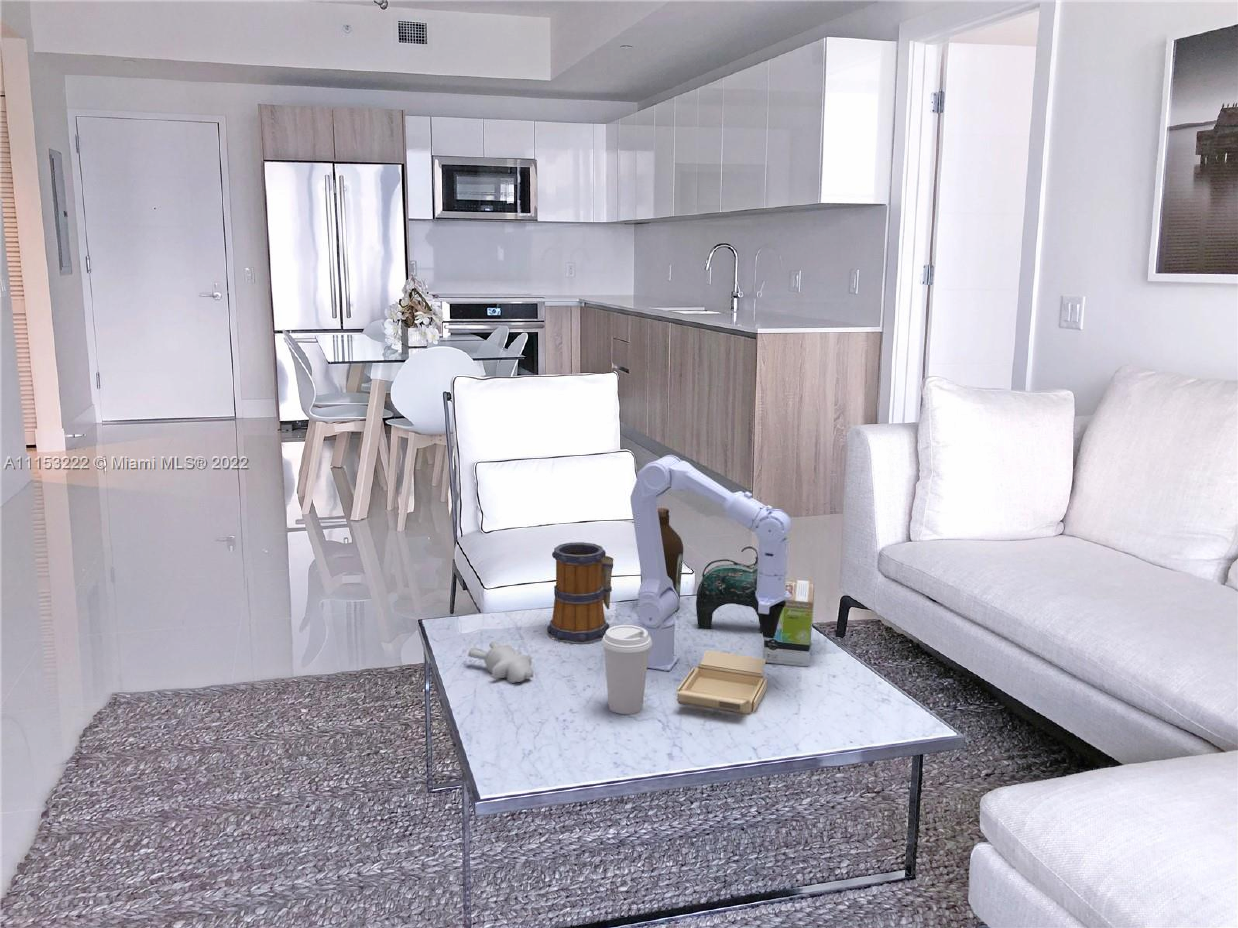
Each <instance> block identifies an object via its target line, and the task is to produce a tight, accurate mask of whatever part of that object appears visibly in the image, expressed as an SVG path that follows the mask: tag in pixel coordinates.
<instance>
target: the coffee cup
mask: <svg viewBox="0 0 1238 928" xmlns="http://www.w3.org/2000/svg"><path fill="white" fill-rule="evenodd" d="M600 642H601V643H600V644H601V645H602V646H603V650H604V653H603V654H604V663H605V674H606V675H605V679H606V688H607V689H606V690H607V691H606V692H607V702H608V703H607V705H608V709H609V710H610V711H612V712H613V713H615V714H619V715H632V714H636V713H639V712H641V711H642V710H643V705H644V696H645V689H646V688H645V687H646V677H647V670H648V668H647V662H648V654H649V648H650V647H651V646H652V641H651V638H650V636H649V635H648V632H647V630H645V629H644V628H642V627H638V626H633V625H631V624H621V625H620V624H619V625H615V626H611V627H609V629H607V631H606V633H605V635H604V636H603V638H602V641H600Z"/></svg>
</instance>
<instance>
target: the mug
mask: <svg viewBox="0 0 1238 928" xmlns="http://www.w3.org/2000/svg"><path fill="white" fill-rule="evenodd" d="M553 549H554V551H553V552H552V553H551V556H552V558H553V559H555V585H554V586H553V590H554V591H553V593H554V595H553V596H554V601H553V608H552V609H553V610H552V617H551V618H552V619H551V620H550V621H549V625H548V626H546V632H548V633H547V636H549V637H550V638H549V637H548V638H549V639H551V638H554V639H555V640H556V641H555V640H554V641H555V642H557V641H558V642H557V643H560V642H565V643H564V644H566V643H570V644H569V645H573V644H578V645H591V643H592V644H595V643H594V642H596V643H599V642H602V638H603V636H604V635H605V633H606V631H607V629H609V628H610V624H609V622H607V621H606V618H605V610H604V606H605V608H606V609H607V610H610V606H611V605H610V603H611V593H612V592H613V589H612V576H613V575H612V574H613V569H614V558H613V557H611V556H608V555H607V553H606V550H605V549H604V548H603V547H602V545H598V544H596V543H591V542H585V541H584V542H583V541H581V542H580V541H579V542H567V543H561V544H558V545H557V546H555V547H554V548H553Z"/></svg>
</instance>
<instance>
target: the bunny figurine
mask: <svg viewBox="0 0 1238 928" xmlns="http://www.w3.org/2000/svg"><path fill="white" fill-rule="evenodd" d="M489 647H490V648H491V649H489V650H488V651H485V650H483V649H481V648H475V647H473V648H470V649H469V651H468V654H467V656H468V657H470V658H474V659H479V660H483V661H484V663H485V666H486V667H485V668H486V670H487V671H488V672H489V673H491V678H493V679H502V678H503V679H506V680H507V682H508V683H510V684H514V683H519V682H520V683H521V682H523V681H525V680H528V679H531V678H534V672H535V671H534V669H533V668H532V659H533V658H532V656H531V655H527V654H519V653H517V652H516V650H515V648H514V647H512V646H511V645H508V644H505V645H501V644H500V643H499V641H491V642H490V643H489Z"/></svg>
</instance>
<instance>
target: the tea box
mask: <svg viewBox="0 0 1238 928" xmlns="http://www.w3.org/2000/svg"><path fill="white" fill-rule="evenodd" d="M786 593H788V594H791V599H790V600H784V601H786V605H785V606H784V608H783V610H782V612H781V615H780V618H779V622H778V626H777V630H776V633H775V636H774V638H765V637H763V639H764V642H763V654H762V658H763V659H766V662H765V663H768V664H777V665H786V666H797V667H809V664H810V654H811V642H812V635H813V634H812V633H813V631H812V630H813V618H814V617H813V616H814V603H815V601H814V600H815V599H814V598H815V581H812V580H811V581H810V580H803V579H802V580H800V579H799V580H797V579H787V578H786Z"/></svg>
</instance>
